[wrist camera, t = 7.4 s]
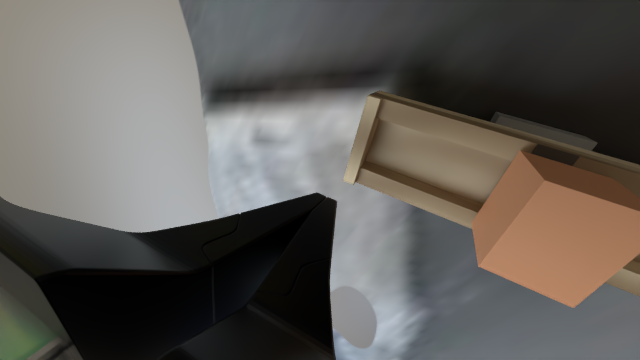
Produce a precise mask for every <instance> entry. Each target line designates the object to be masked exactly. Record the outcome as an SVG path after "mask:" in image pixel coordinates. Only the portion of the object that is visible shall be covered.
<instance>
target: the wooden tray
mask: <svg viewBox="0 0 640 360" xmlns="http://www.w3.org/2000/svg"><path fill="white" fill-rule="evenodd" d="M596 145H597V142H595V141H594V140H592V139H590V138H588V137H586V136H583V135H579V134H576V133H572V132H568V131H565V130H561V129H557V128H554V127H550V126H547V125H543V124H539V123H536V122H532V121H528V120H525V119H521V118H517V117H514V116H510V115H506V114H503V113H499V112H495V114H494V115H493V117H492V119H491V121H490V122H488V121H484V120H481V119H477V118H474V117H470V116H467V115H464V114H460V113H457V112H453V111H450V110H446V109H443V108H439V107H436V106H432V105H429V104H425V103H422V102H418V101H415V100H411V99H408V98H404V97H401V96H397V95H394V94H390V93H387V92H383V91H380V90H379V91H377V92H375V93H372V94H370V95H368V96H367V99H366V103H365V106H364V110H363V113H362V117H361V120H360V123H359V127H358V130H357V134H356V137H355V141H354V144H353V148H352V151H351V155H350V158H349V161H348V165H347V168H346V172H345V175H344V179H343V181H345V182H348V183H350V184H354V183H355V182H357V183H359V184H362V185H364V186H367V187H369V188H372V189H374V190H377V191H379V192H382V193H384V194H387V195H389V196H392V197H394V198H397V199H399V200H401V201H404V202H406V203H409V204H411V205H414V206H416V207H419V208H421V209H424V210H426V211H429V212H431V213H434V214H436V215H439V216H441V217H444V218H446V219H449V220H451V221H454V222H456V223H459V224H461V225H464V226H466V227H469V228H471V229H472V221H473V220H474V218H475V217H476V215H477V214H478V212H479V211H480V209H481V208H482V206H483V205H484V203H485V202H486V200H487V199H488V197H489V196H490V194H491V193H492V191H493V190H494V188H495V187H496V185H497V184H498V182H499V181H500V179H501V178H502V176H503V175H504V173H505V172H506V170H507V169H508V167H509V166H510V164H511V163H512V161H513V160H514V158H515V157H516V155H517V154H518V152H519V151H520V150H521V151H524V152H527V153H531V154H534V155H537V156H540V157H544V158H547V159H550V160H554V161H557V162H560V163H563V164H567V165H570V166H573V167H576V168H580V169H583V170H586V171H590V172H593V173H596V174H599V175H603V176H606V177H609V178H612V179H614V180H615V181H617V182H618V183H620V184H621V185H622V186H624V187H625V188H627V189H628V190H630V191H631V192H632V193H634V194H635V195H637V196H638V197H640V165H638V164H635V163H631V162H628V161H624V160H621V159H617V158H614V157H610V156H607V155H603V154H600V153H596V152H593V151H592V149H593V148H594V147H595V146H596ZM605 283H608V284H610V285H613V286H615V287H618V288H620V289H622V290H625V291H627V292H630V293H632V294H635V295H637V296H640V254H639V255H637V256H636V257H635V258H634V259H633V260H631V261H630V262H629V263H628V264H626V265H625V266H624V267H623V268H622V269H620V270H619V271H618V272H617V273H616V274H614V275H613V276H612V277H611V278H609V279H608V280H607V281H606V282H605Z"/></svg>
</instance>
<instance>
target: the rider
mask: <svg viewBox="0 0 640 360" xmlns="http://www.w3.org/2000/svg"><path fill="white" fill-rule="evenodd" d="M472 229H473V236H474V242H475V249H476V255H477V261H478V266H479V267H481V268H483V269H486V270H488V271H490V272H492V273H495V274H497V275H499V276H502V277H504V278H506V279H508V280H511V281H513V282H515V283H518V284H520V285H522V286H524V287H527V288H529V289H531V290H533V291H536V292H538V293H540V294H543V295H545V296H547V297H549V298H552V299H554V300H556V301H559V302H561V303H563V304H565V305H568V306H570V307H572V308H574V307H575V306H577V305H578V304H579V303H580V302H581V301H583V300H584V299H585V298H586V297H588V296H589V295H590V294H591V293H592V292H594V291H595V290H596V289H597V288H598V287H600V286H601V285H602V284H603V283H605V282H606V281H607V280H608V279H609V278H611V277H612V276H613V275H614V274H616V273H617V272H618V271H619V270H620V269H622V268H623V267H624V266H625V265H626V264H628V263H629V262H630V261H631V260H633V259H634V258H635V257H636V256H637V255H639V254H640V197H638V196H637V195H635V194H634V193H632V192H631V191H630V190H628V189H627V188H625V187H624V186H622V185H621V184H620V183H618V182H617V181H615V180H614V179H612V178H609V177H606V176H603V175H599V174H596V173H593V172H590V171H586V170H583V169H580V168H576V167H573V166H570V165H567V164H563V163H560V162H557V161H554V160H550V159H547V158H544V157H540V156H537V155H534V154H531V153H527V152H524V151H521V150H520V151H519V152H518V154H517V155H516V157H515V158H514V160H513V161H512V163H511V164H510V166H509V167H508V169H507V170H506V172H505V173H504V175H503V176H502V178H501V179H500V181H499V182H498V184H497V185H496V187H495V188H494V190H493V191H492V193H491V194H490V196H489V197H488V199H487V200H486V202H485V203H484V205H483V206H482V208H481V209H480V211H479V212H478V214H477V215H476V217H475V218H474V220H473V221H472Z"/></svg>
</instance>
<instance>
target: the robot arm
mask: <svg viewBox="0 0 640 360" xmlns="http://www.w3.org/2000/svg"><path fill="white" fill-rule="evenodd" d="M336 208H337V201H336V200H334V199H331V198H329V197H327V198H326V196H324V195H322V194H320V193H313V194H309V195H306V196H302V197H298V198H295V199H291V200H287V201H283V202H280V203H276V204H272V205H269V206H265V207H261V208H258V209H254V210H250V211H246V212H243V213H241V214H235V215H231V216H227V217H223V218H219V219H215V220H211V221H206V222H201V223H196V224H191V225H185V226H180V227H174V228H169V229H164V230H158V231H152V232H143V233H135V232H133V233H132V232H125V231H119V230H114V229H111V228H106V227H102V226H97V225H93V224H89V223H84V222H80V221H76V220H71V219H67V218H62V217H58V216H54V215H49V214H45V213H40V212H36V211H33V210H29V209H26V208H22V207H19V206H17V205H14V204H12V203H9V202H8V201H6V200H4V199H3V198H1V197H0V360H336V357H335V351H334V342H333V330H332V318H331V303H330V269H331V258H332V248H333V238H334V228H335V218H336Z"/></svg>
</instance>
